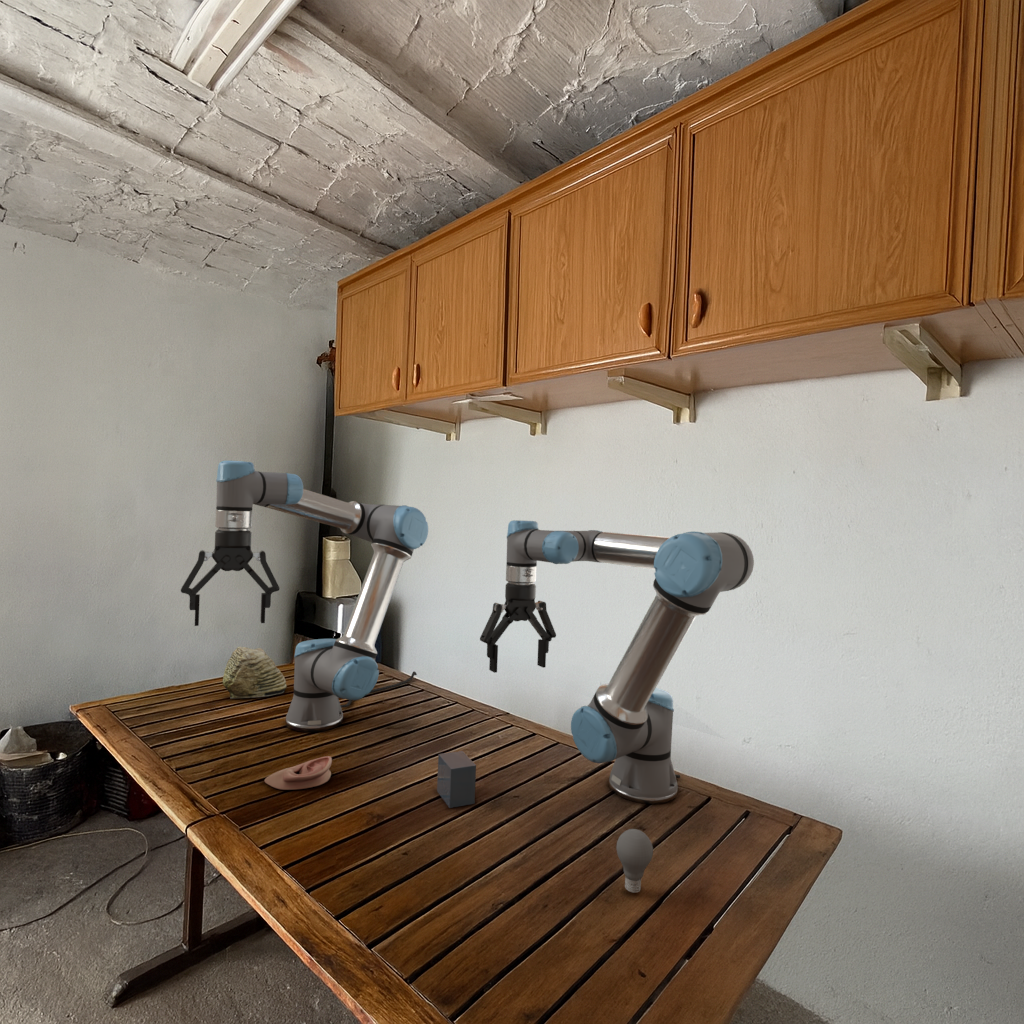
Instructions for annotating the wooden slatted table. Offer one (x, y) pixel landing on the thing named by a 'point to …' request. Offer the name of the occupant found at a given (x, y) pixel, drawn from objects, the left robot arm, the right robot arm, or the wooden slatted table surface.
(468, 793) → the dark grey boxy piece
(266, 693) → the fossil
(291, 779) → the anatomical model
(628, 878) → the light bulb
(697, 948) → the wooden slatted table surface
